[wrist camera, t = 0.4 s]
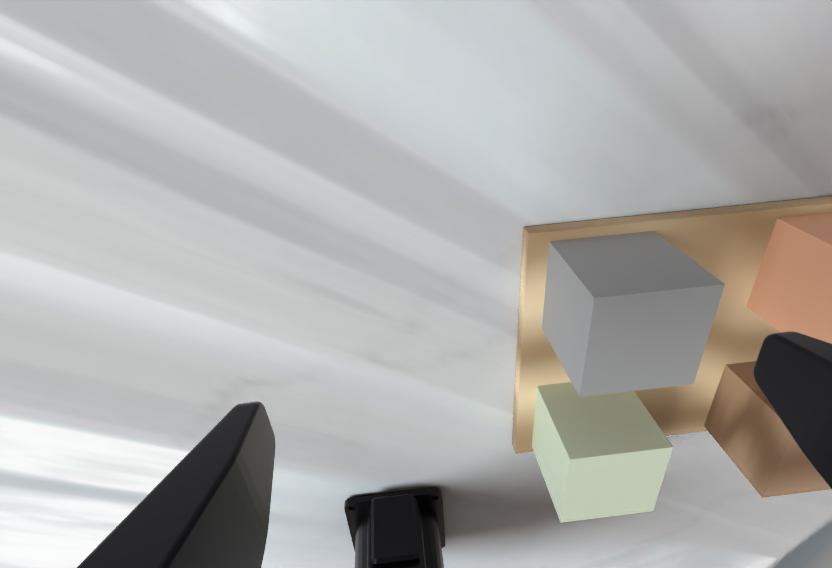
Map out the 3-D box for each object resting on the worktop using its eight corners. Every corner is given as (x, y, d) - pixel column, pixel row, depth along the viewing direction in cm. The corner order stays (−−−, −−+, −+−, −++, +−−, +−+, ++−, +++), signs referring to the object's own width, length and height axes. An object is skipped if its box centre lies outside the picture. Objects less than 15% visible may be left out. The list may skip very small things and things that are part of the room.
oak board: (783, 411, 30) (792, 420, 29) (512, 443, 29) (515, 453, 29) (886, 190, 22) (902, 195, 22) (523, 226, 22) (528, 233, 21)
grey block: (635, 318, 24) (693, 384, 20) (541, 328, 24) (579, 397, 20) (654, 230, 21) (725, 284, 17) (549, 241, 21) (594, 298, 17)
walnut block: (780, 416, 29) (852, 486, 25) (703, 425, 29) (762, 497, 24) (809, 354, 26) (894, 420, 22) (725, 364, 26) (795, 432, 22)
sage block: (610, 436, 29) (652, 511, 24) (531, 446, 28) (560, 522, 24) (623, 376, 26) (673, 447, 22) (536, 386, 26) (570, 459, 22)
